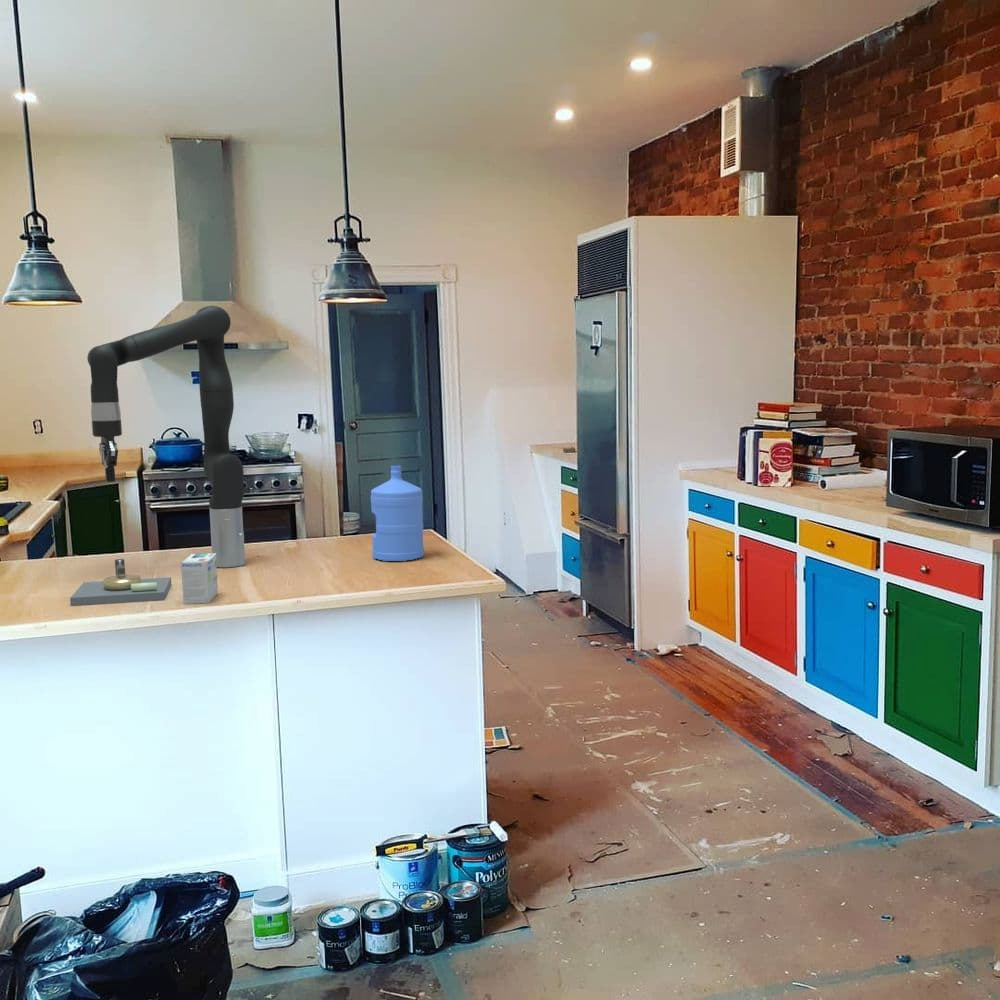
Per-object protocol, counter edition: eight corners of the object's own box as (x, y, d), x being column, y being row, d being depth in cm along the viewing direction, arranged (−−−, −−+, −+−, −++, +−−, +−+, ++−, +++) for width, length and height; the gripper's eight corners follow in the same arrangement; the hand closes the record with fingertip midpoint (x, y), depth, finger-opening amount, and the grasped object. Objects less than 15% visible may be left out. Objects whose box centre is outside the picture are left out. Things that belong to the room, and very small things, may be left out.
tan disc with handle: (142, 587, 247) (141, 569, 247) (104, 591, 244) (103, 573, 243) (138, 574, 263) (137, 557, 263) (102, 577, 260) (101, 560, 259)
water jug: (434, 555, 297) (432, 464, 293) (402, 564, 284) (400, 469, 280) (394, 550, 305) (391, 462, 301) (361, 559, 292) (358, 467, 288)
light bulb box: (192, 594, 250) (190, 553, 248) (219, 593, 250) (216, 552, 249) (182, 604, 239) (180, 561, 238) (210, 603, 240) (207, 560, 238)
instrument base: (171, 584, 261) (170, 570, 260) (164, 599, 244) (163, 584, 243) (84, 589, 256) (83, 575, 256) (70, 605, 239) (69, 590, 238)
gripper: (126, 419, 262) (130, 482, 265) (115, 417, 273) (119, 478, 276) (96, 420, 258) (101, 484, 261) (87, 418, 269) (91, 480, 272)
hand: (110, 481), depth 268 cm, fingers closed
